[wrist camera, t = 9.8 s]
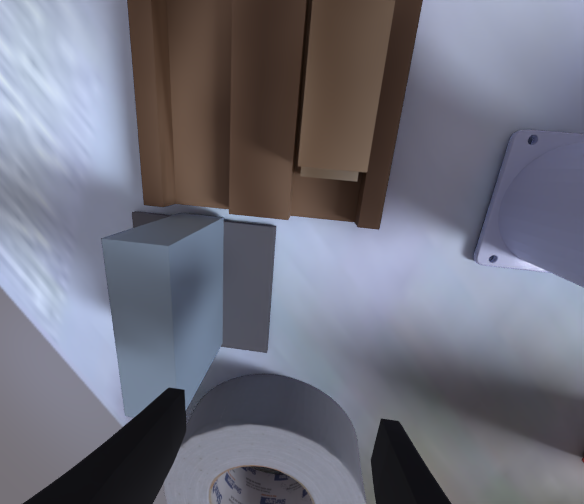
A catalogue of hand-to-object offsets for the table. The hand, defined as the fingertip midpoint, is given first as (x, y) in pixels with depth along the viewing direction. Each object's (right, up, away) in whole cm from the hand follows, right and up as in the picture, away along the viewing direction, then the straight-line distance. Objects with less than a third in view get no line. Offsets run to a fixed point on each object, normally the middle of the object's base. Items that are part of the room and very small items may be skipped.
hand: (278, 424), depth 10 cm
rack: (-1, +16, +6) cm, 17 cm away
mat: (-6, +4, +10) cm, 13 cm away
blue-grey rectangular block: (-6, +4, +10) cm, 12 cm away
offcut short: (+3, +13, +3) cm, 14 cm away
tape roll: (-1, -11, +15) cm, 19 cm away
